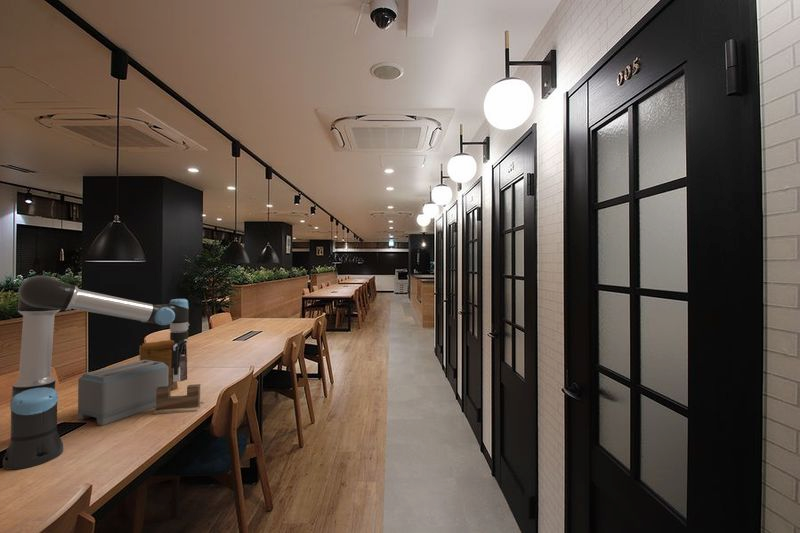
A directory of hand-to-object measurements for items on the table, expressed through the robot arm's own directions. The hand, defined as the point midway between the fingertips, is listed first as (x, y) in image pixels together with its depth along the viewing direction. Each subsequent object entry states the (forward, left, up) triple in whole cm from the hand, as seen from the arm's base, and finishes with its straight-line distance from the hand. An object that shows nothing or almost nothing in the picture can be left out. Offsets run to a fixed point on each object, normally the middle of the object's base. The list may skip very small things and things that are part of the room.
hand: (179, 378), depth 174 cm
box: (0, 0, -1) cm, 1 cm away
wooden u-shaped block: (0, 0, -15) cm, 15 cm away
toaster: (+5, +23, -15) cm, 28 cm away
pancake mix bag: (+29, +18, -15) cm, 37 cm away
